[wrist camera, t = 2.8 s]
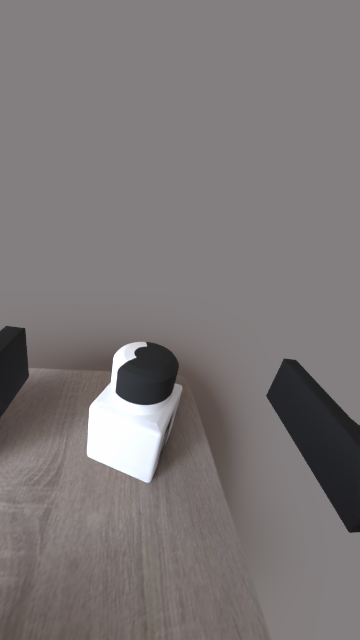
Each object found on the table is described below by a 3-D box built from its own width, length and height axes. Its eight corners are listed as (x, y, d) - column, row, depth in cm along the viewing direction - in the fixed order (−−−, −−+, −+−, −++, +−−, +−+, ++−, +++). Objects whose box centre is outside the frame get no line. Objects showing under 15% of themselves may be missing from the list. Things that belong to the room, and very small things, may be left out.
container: (171, 429, 31) (193, 348, 26) (149, 486, 25) (173, 392, 19) (120, 408, 33) (130, 327, 27) (85, 457, 26) (90, 361, 20)
